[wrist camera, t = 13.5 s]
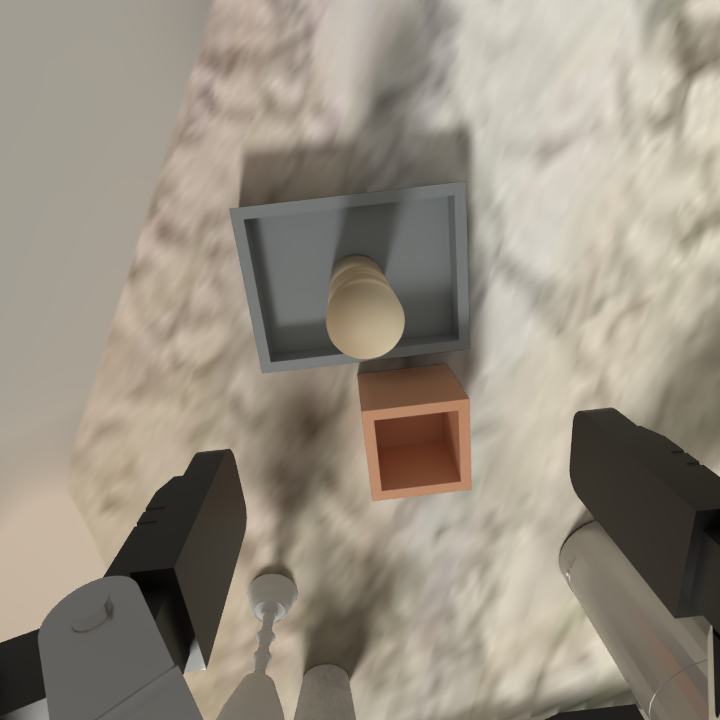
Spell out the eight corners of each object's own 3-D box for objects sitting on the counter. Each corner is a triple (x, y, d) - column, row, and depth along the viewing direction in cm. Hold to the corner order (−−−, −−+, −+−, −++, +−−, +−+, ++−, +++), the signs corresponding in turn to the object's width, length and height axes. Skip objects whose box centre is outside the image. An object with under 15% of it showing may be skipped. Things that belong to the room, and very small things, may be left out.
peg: (380, 251, 33) (401, 278, 22) (384, 303, 35) (407, 354, 23) (327, 257, 33) (321, 288, 22) (333, 309, 35) (331, 363, 23)
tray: (454, 182, 33) (465, 181, 30) (459, 337, 37) (469, 348, 34) (238, 207, 33) (229, 208, 30) (267, 360, 37) (262, 373, 34)
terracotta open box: (446, 363, 38) (469, 398, 31) (449, 441, 40) (471, 489, 34) (357, 374, 38) (361, 411, 31) (366, 451, 40) (372, 501, 34)
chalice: (229, 573, 44) (162, 804, 28) (295, 558, 44) (269, 782, 27) (251, 625, 47) (203, 865, 30) (314, 611, 47) (301, 846, 30)
